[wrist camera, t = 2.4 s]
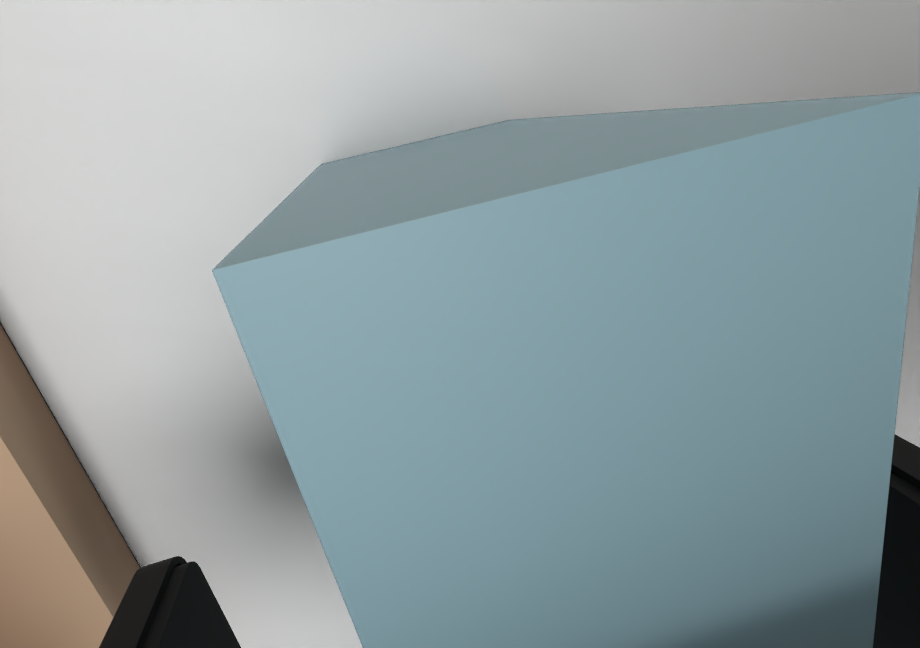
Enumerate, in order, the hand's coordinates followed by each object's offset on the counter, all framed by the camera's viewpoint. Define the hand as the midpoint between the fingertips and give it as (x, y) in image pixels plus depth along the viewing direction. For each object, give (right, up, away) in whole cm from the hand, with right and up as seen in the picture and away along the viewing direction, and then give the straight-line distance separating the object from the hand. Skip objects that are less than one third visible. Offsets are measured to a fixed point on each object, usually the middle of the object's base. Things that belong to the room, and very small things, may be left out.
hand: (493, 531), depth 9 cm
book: (0, +2, +4) cm, 5 cm away
